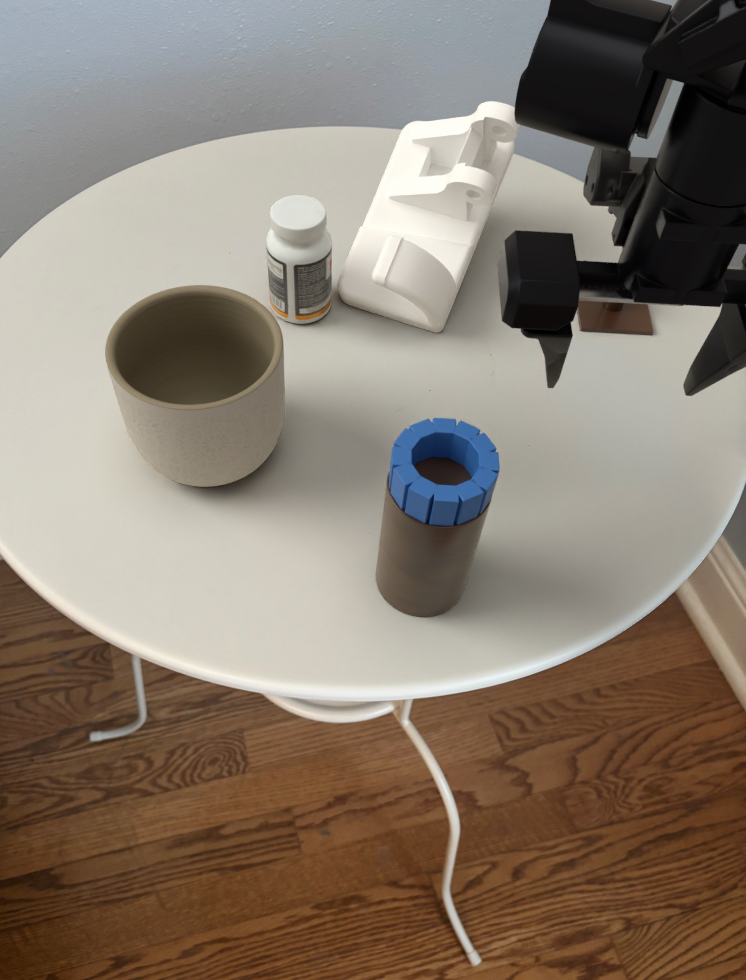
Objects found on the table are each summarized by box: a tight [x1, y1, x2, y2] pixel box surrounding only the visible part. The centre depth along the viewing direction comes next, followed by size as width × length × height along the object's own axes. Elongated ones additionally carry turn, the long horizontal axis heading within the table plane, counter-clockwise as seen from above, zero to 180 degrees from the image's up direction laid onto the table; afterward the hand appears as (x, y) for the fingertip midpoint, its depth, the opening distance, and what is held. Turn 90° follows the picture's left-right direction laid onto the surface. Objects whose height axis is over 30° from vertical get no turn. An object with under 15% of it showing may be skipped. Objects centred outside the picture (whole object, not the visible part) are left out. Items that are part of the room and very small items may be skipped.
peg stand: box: [576, 301, 655, 336], centre depth 76 cm, size 7×7×4 cm
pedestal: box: [375, 457, 493, 618], centre depth 57 cm, size 7×7×11 cm
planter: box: [104, 284, 286, 488], centre depth 63 cm, size 12×12×11 cm
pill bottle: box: [265, 194, 333, 325], centre depth 73 cm, size 6×6×10 cm
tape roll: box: [388, 417, 500, 526], centre depth 51 cm, size 6×6×2 cm
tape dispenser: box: [336, 100, 522, 334], centre depth 76 cm, size 20×11×13 cm, turn 156°
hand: (618, 387), depth 56 cm, fingers open, 9 cm apart
